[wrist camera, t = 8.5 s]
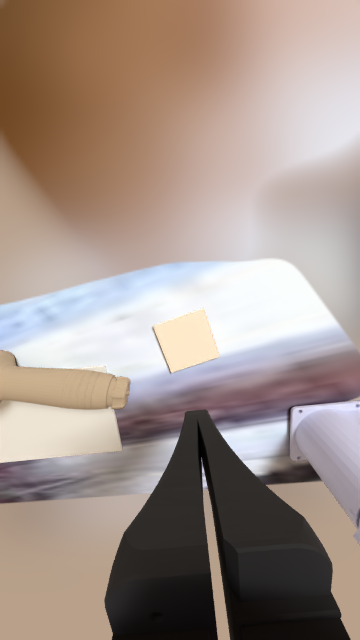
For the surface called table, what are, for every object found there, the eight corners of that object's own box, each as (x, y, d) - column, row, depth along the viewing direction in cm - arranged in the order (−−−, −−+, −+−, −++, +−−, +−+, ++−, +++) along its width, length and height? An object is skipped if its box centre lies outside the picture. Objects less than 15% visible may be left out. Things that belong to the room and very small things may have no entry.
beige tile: (202, 307, 21) (204, 308, 20) (218, 353, 22) (220, 356, 21) (154, 324, 21) (153, 326, 20) (171, 368, 22) (171, 372, 21)
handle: (129, 362, 19) (-29, 346, 18) (117, 432, 17) (-59, 420, 16) (135, 363, 23) (11, 351, 22) (126, 419, 22) (-9, 408, 20)
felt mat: (105, 365, 22) (104, 366, 21) (122, 448, 24) (121, 450, 24) (-59, 382, 22) (-62, 383, 22) (-25, 463, 24) (-28, 465, 24)
